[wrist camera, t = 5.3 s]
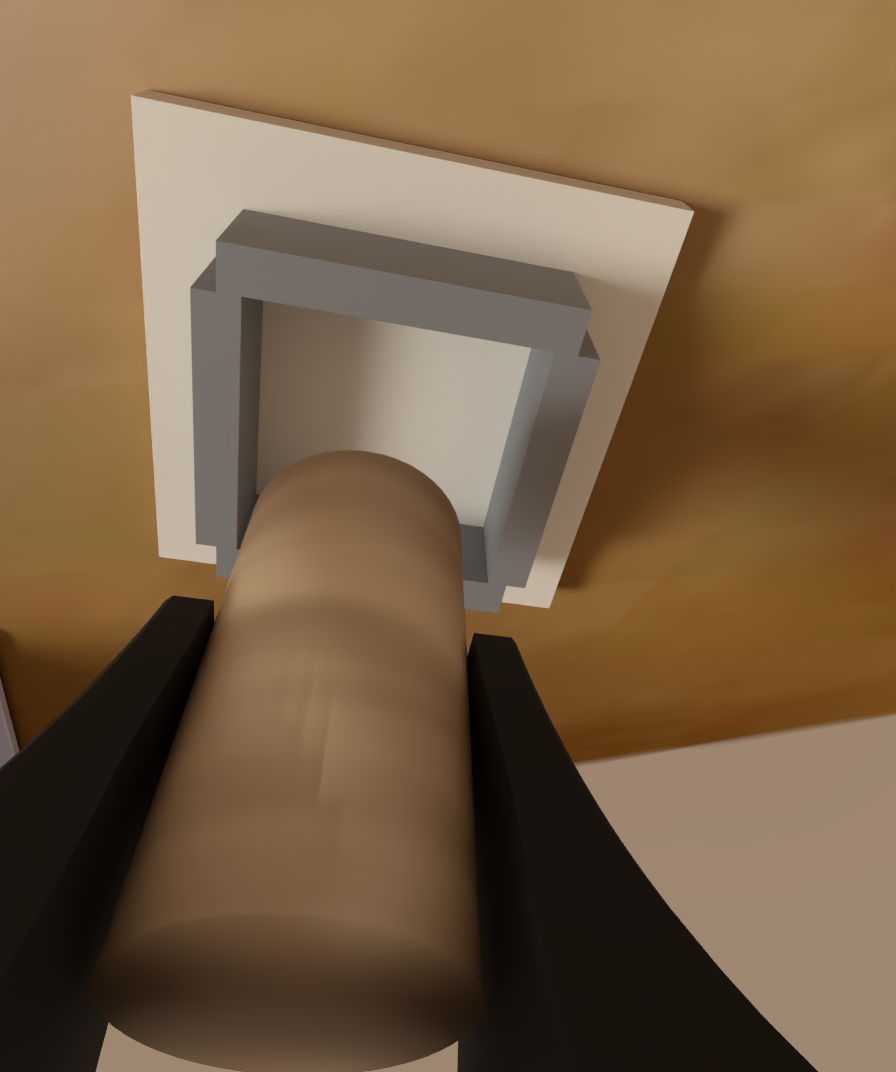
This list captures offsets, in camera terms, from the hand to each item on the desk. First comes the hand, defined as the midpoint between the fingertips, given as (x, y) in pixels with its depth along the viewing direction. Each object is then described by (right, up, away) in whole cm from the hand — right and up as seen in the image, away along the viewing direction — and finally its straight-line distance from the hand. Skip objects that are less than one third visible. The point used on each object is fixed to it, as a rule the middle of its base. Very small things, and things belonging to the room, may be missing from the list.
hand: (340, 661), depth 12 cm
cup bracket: (0, +6, +8) cm, 10 cm away
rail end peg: (0, +2, +2) cm, 3 cm away
